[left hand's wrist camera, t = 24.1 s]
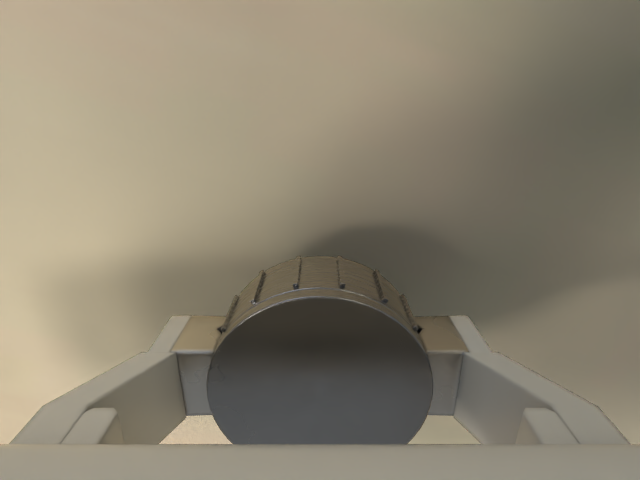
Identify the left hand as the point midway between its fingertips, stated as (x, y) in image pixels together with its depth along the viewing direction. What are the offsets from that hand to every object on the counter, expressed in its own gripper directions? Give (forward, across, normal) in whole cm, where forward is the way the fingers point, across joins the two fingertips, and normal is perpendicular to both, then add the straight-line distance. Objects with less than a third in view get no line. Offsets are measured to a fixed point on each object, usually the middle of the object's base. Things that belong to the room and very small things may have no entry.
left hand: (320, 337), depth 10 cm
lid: (-2, 0, 0) cm, 2 cm away
